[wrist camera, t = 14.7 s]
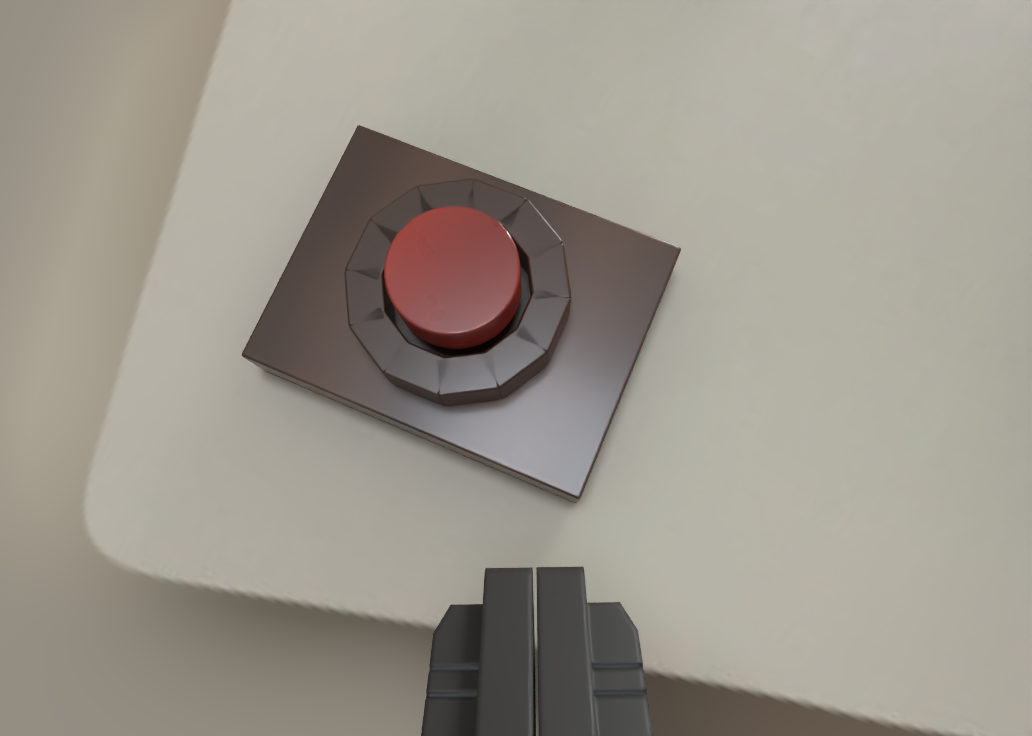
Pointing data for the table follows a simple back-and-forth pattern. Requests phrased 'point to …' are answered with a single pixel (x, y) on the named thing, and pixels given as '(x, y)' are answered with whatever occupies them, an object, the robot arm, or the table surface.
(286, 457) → the table surface
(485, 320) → the button
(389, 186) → the button block
